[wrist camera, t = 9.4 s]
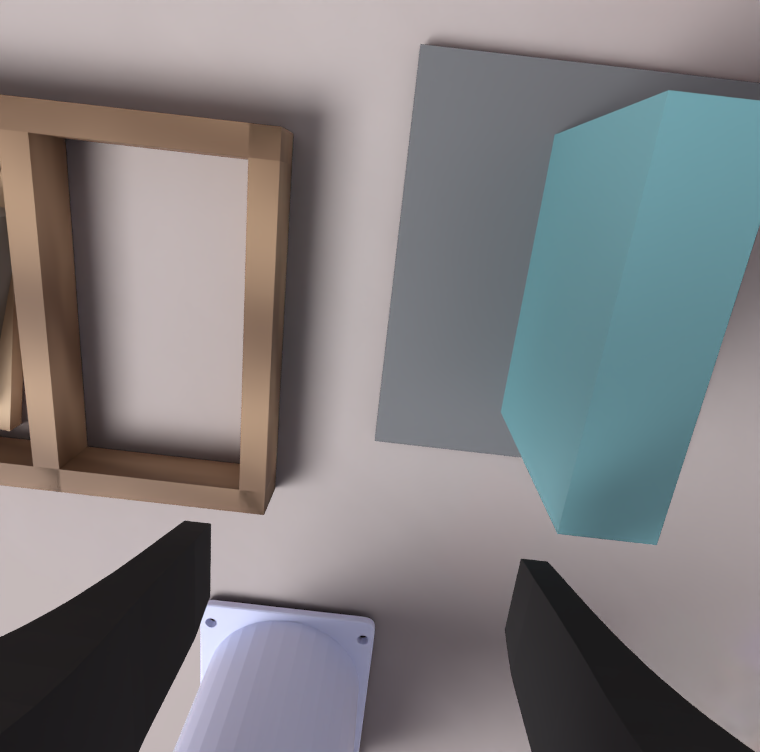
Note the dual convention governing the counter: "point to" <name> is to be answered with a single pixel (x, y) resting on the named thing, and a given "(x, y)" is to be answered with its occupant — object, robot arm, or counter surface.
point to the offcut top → (4, 265)
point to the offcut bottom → (10, 360)
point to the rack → (60, 314)
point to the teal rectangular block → (630, 305)
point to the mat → (483, 228)
